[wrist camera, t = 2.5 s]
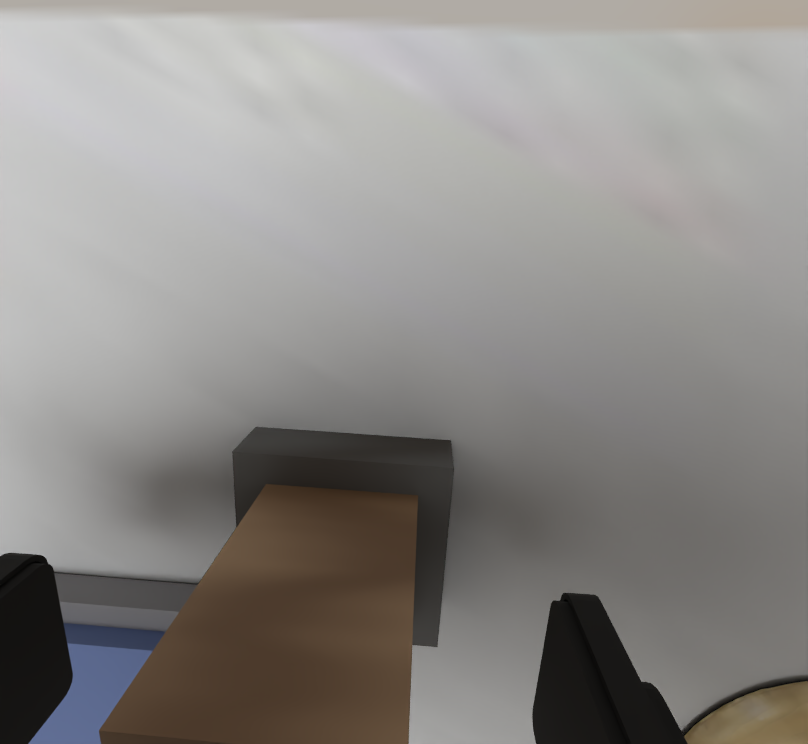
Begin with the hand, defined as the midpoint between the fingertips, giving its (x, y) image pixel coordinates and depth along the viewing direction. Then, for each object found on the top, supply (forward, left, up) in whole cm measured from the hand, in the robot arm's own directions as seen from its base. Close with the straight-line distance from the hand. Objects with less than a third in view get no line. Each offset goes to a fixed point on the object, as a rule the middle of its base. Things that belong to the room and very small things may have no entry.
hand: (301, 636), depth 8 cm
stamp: (0, 0, -4) cm, 4 cm away
